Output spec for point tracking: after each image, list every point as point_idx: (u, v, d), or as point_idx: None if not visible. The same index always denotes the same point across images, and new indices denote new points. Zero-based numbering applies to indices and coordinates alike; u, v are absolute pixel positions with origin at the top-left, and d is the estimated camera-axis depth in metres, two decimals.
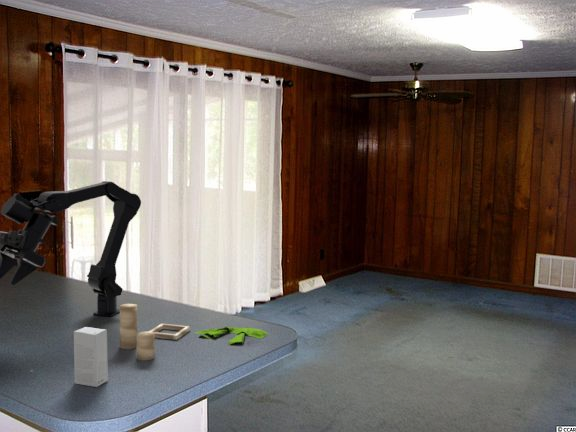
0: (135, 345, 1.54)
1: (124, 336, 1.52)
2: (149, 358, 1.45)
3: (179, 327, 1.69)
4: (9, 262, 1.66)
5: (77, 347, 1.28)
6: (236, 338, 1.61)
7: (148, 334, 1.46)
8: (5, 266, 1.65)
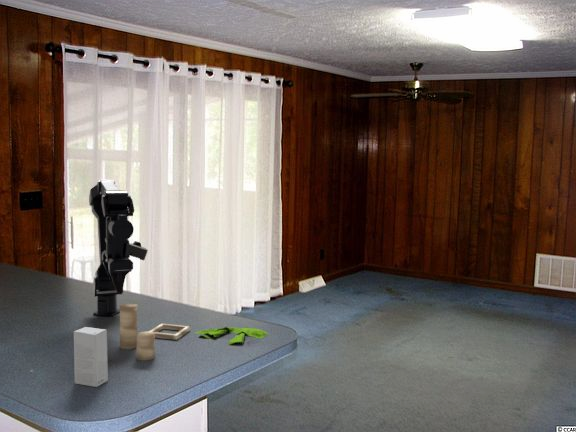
0: (135, 345, 1.54)
1: (124, 336, 1.52)
2: (149, 358, 1.45)
3: (179, 327, 1.69)
4: None
5: (77, 347, 1.28)
6: (236, 338, 1.61)
7: (148, 334, 1.46)
8: None
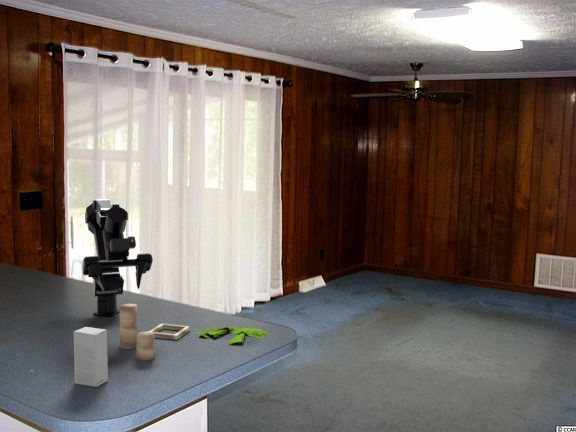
0: (135, 345, 1.54)
1: (124, 336, 1.52)
2: (149, 358, 1.45)
3: (179, 327, 1.69)
4: None
5: (77, 347, 1.28)
6: (236, 338, 1.61)
7: (148, 334, 1.46)
8: None
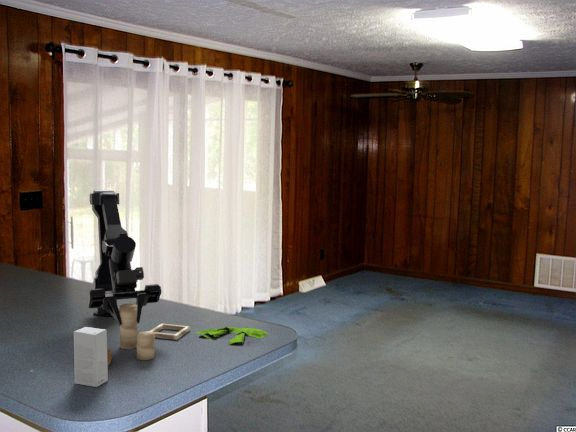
0: (135, 345, 1.54)
1: (124, 336, 1.52)
2: (149, 358, 1.45)
3: (179, 327, 1.69)
4: None
5: (77, 347, 1.28)
6: (236, 338, 1.61)
7: (148, 334, 1.46)
8: None
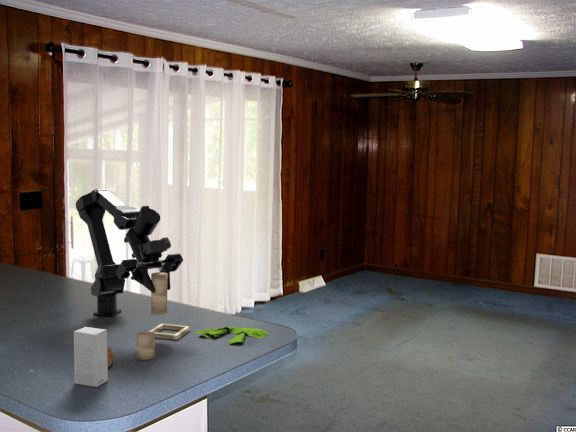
0: (166, 311, 1.62)
1: (157, 303, 1.60)
2: (150, 357, 1.45)
3: (179, 327, 1.69)
4: None
5: (77, 347, 1.28)
6: (236, 338, 1.61)
7: (148, 333, 1.46)
8: None
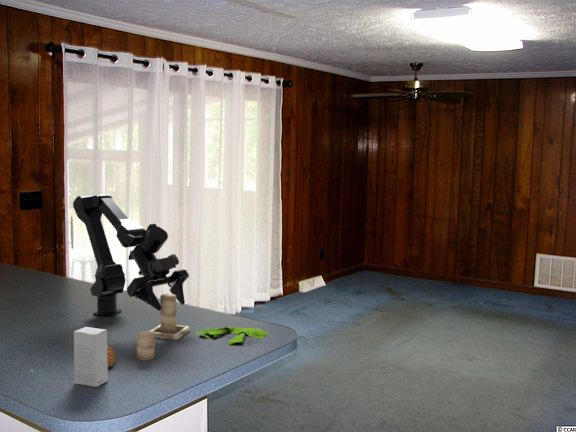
0: (176, 331, 1.66)
1: (168, 324, 1.64)
2: (151, 357, 1.45)
3: (179, 327, 1.69)
4: None
5: (77, 347, 1.28)
6: (236, 338, 1.61)
7: (148, 334, 1.46)
8: None
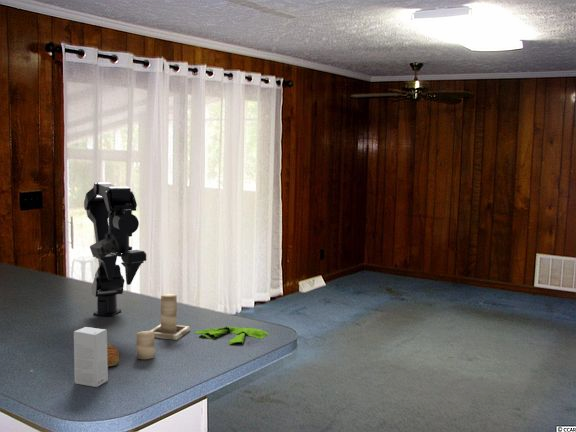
0: (176, 331, 1.66)
1: (168, 324, 1.64)
2: (153, 356, 1.46)
3: (179, 327, 1.69)
4: (111, 261, 1.74)
5: (77, 347, 1.28)
6: (236, 338, 1.61)
7: (148, 332, 1.47)
8: (110, 266, 1.74)
